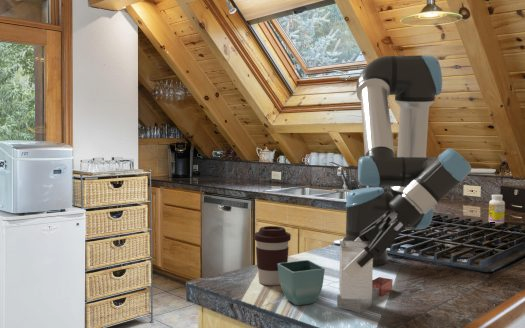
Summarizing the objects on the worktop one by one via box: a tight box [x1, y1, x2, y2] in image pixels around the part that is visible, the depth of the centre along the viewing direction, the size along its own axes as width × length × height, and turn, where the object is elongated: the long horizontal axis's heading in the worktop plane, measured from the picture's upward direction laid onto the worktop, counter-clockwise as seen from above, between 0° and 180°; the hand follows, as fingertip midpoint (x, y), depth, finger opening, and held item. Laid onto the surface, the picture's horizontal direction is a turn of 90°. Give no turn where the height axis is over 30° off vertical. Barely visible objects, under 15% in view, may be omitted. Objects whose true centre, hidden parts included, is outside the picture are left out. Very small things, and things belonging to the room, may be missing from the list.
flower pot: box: [278, 259, 326, 306], centre depth 126 cm, size 9×9×9 cm
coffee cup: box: [253, 225, 292, 286], centre depth 141 cm, size 10×10×15 cm
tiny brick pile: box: [336, 276, 393, 314], centre depth 128 cm, size 6×21×7 cm, turn 143°
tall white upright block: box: [338, 240, 374, 299], centre depth 122 cm, size 7×7×12 cm
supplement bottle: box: [488, 194, 506, 225], centre depth 239 cm, size 7×7×13 cm
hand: (345, 266), depth 122 cm, fingers open, 13 cm apart
